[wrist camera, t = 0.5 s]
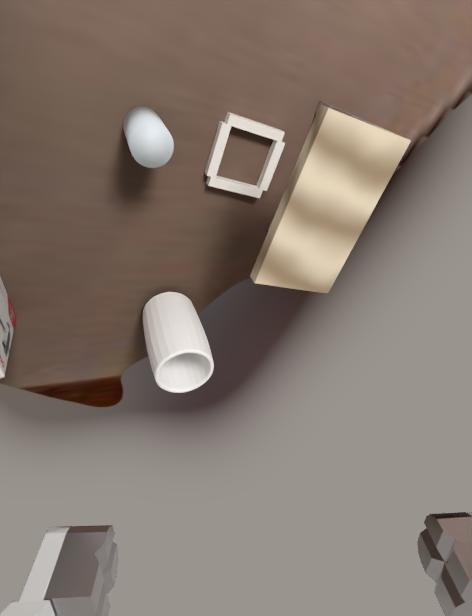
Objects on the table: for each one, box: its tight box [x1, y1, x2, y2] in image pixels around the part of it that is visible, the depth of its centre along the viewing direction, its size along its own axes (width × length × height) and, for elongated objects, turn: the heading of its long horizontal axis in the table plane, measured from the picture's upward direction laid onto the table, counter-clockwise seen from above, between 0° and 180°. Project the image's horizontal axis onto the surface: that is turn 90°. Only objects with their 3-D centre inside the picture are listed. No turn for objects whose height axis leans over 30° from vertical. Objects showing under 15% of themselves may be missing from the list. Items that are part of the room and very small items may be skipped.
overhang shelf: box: [250, 101, 411, 293], centre depth 46 cm, size 18×10×16 cm, turn 160°
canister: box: [123, 106, 174, 168], centre depth 43 cm, size 4×4×8 cm
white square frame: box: [205, 112, 285, 198], centre depth 50 cm, size 9×9×1 cm
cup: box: [143, 292, 214, 393], centre depth 57 cm, size 8×8×14 cm
